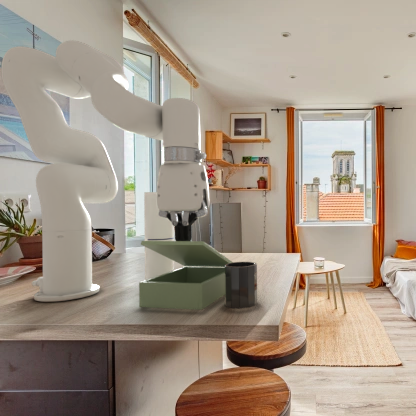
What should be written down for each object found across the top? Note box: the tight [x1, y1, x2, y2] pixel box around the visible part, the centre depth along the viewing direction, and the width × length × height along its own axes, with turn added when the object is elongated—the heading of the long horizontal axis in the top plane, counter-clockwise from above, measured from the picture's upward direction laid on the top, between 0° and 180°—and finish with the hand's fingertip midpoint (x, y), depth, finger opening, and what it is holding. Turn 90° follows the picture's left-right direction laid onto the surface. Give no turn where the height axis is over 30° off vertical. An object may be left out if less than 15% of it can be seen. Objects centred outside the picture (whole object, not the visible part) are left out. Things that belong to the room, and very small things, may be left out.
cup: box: [224, 261, 258, 310], centre depth 68 cm, size 6×6×9 cm
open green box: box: [138, 266, 225, 311], centre depth 74 cm, size 18×14×6 cm
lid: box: [140, 240, 233, 267], centre depth 74 cm, size 18×14×1 cm
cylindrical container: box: [143, 191, 175, 281], centre depth 88 cm, size 7×7×25 cm
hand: (183, 244), depth 70 cm, fingers closed
